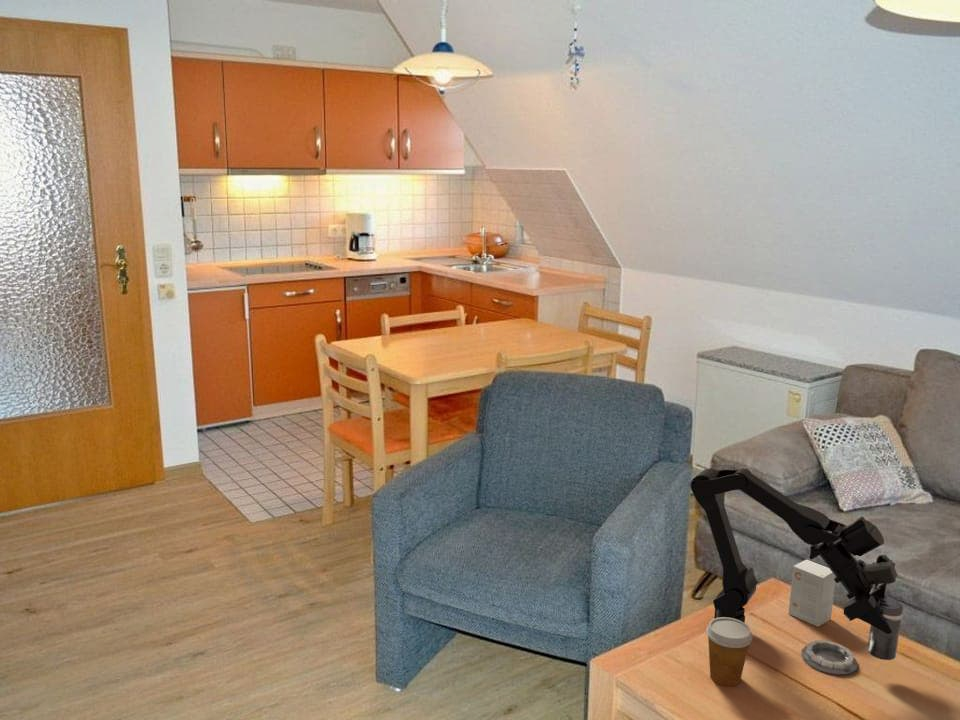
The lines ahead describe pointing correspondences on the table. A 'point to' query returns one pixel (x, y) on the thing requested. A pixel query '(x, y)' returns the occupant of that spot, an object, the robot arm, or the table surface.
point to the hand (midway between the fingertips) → (892, 627)
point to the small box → (812, 592)
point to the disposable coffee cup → (727, 649)
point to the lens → (879, 640)
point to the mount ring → (829, 658)
